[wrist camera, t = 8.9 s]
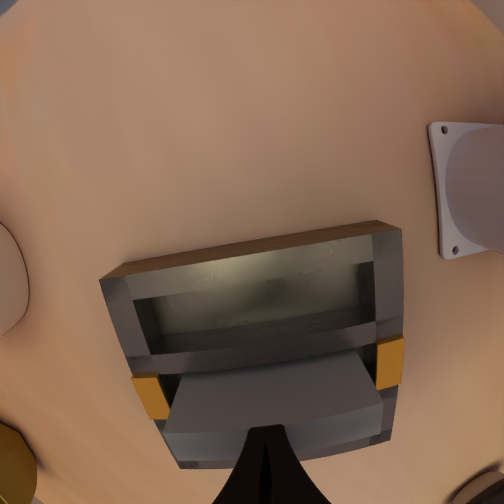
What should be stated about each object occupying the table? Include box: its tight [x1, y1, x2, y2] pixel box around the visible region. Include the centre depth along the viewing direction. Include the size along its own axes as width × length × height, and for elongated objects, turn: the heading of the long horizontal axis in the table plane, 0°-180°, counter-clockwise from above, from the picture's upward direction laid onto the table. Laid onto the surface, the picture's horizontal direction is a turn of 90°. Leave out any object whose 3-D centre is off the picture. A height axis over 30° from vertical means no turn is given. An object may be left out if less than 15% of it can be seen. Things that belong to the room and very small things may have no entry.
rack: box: [99, 220, 405, 469], centre depth 15 cm, size 14×14×3 cm
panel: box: [163, 348, 384, 461], centre depth 13 cm, size 9×2×6 cm, turn 100°
